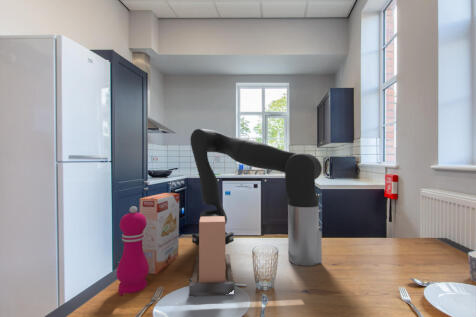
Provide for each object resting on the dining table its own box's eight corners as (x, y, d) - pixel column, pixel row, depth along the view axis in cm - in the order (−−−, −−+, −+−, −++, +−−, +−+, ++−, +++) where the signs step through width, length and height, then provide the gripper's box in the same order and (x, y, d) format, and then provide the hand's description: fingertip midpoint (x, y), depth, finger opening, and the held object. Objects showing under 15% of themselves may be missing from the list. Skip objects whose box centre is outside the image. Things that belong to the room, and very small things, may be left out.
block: (224, 279, 65) (224, 216, 65) (225, 291, 59) (225, 221, 59) (200, 280, 64) (200, 216, 64) (199, 292, 58) (199, 222, 58)
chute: (229, 260, 79) (229, 250, 79) (234, 298, 57) (234, 283, 57) (196, 261, 78) (196, 251, 78) (189, 300, 56) (189, 285, 56)
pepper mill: (155, 285, 63) (155, 204, 64) (134, 300, 56) (135, 209, 57) (131, 280, 66) (132, 203, 66) (109, 294, 59) (109, 207, 59)
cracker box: (157, 277, 68) (158, 198, 68) (137, 275, 69) (137, 198, 69) (180, 257, 81) (180, 192, 82) (162, 256, 83) (162, 192, 83)
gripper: (193, 219, 84) (187, 233, 67) (233, 218, 85) (237, 232, 68) (193, 241, 84) (187, 262, 66) (233, 240, 85) (237, 260, 68)
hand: (212, 247), depth 67 cm, fingers closed
